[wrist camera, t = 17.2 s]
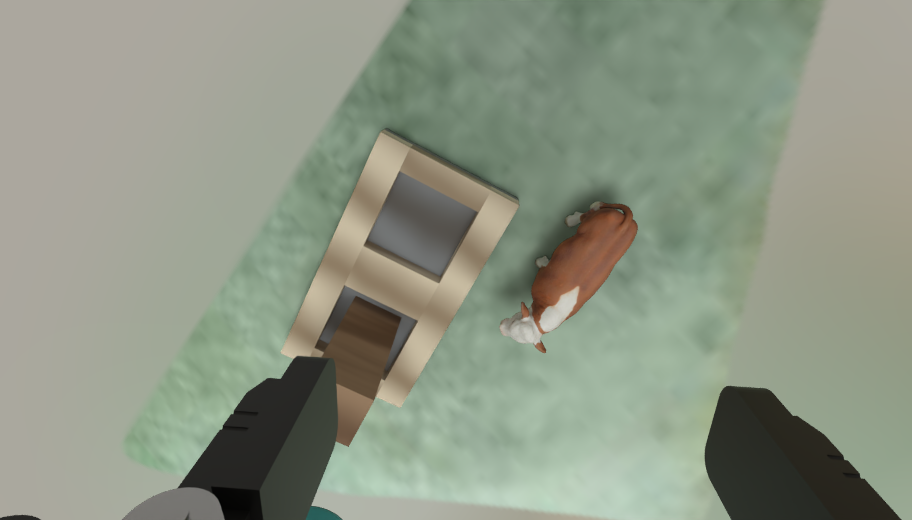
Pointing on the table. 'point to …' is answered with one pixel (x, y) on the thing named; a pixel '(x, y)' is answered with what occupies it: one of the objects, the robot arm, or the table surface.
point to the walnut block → (360, 361)
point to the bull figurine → (573, 271)
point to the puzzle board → (404, 255)
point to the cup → (321, 514)
